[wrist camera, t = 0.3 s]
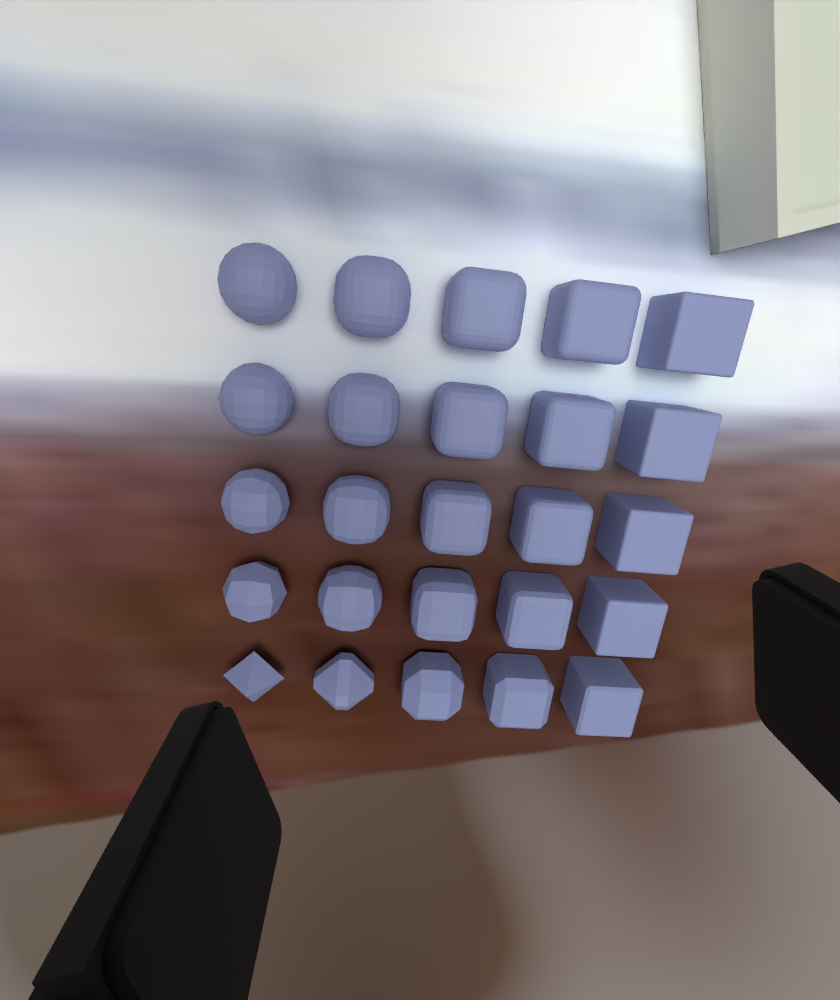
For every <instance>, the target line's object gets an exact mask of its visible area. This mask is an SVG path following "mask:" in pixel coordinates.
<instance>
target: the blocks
mask: <svg viewBox="0 0 840 1000" xmlns="http://www.w3.org/2000/svg"><path fill="white" fill-rule="evenodd" d="M218 284H219V290H220V294H221V296H222V298H223V300H224V302H225V304H226V305H227V306H228V307H229V308H230V309H231V311H232V312H233V313H235V314H236V315H237V316H239V317H240V318H242V319H243V320H245V321H247V322H251V323H254V324H258V325H259V324H271V323H273V322H276V321H278V320H281V319H282V318H283V317H284V316H285V315H286V314H287V313H288V312H289V311H290V309H291V308H292V306H293V304H294V302H295V298H296V293H297V284H296V276H295V274H294V271H293V269H292V267H291V264H290V263H289V262H288V261H287V259H286V258H285V257H284V256H283V254H282V253H280V252H279V251H277V250H276V249H274V248H273V247H271V246H268V245H265V244H261V243H245V244H241V245H239V246H237V247H235V248H233V249H231V250H230V251H229V252H228V253H227V254H226V255H225V257H224V259H223V261H222V262H221V264H220V267H219V274H218ZM410 297H411V289H410V282H409V279H408V276H407V274H406V272H405V271H404V270H403V268H402V267H401V266H400V265H399V264H397V263H396V262H394V261H393V260H390V259H387V258H384V257H376V256H368V255H367V256H357V257H354V258H352V259H349V260H348V261H347V262H346V263H345V264H344V265H343V266H342V267H341V268H340V270H339V272H338V274H337V277H336V282H335V291H334V307H335V313H336V315H337V318H338V320H339V322H340V323H341V324H342V325H343V326H344V328H345V329H347V330H348V331H350V332H351V333H353V334H356V335H360V336H365V337H374V338H384V337H388V336H391V335H393V334H395V333H396V332H398V331H399V330H400V329H401V328H402V327H403V325H404V324H405V322H406V320H407V317H408V313H409V308H410ZM525 299H526V285H525V282H524V280H523V279H522V277H520V276H519V275H518V274H516V273H513V272H508V271H500V270H492V269H484V268H476V267H466V268H463V269H461V270H460V271H458V272H457V273H456V274H455V275H454V276H453V277H452V278H451V279H450V281H449V282H448V285H447V289H446V297H445V306H444V315H443V324H442V333H443V335H444V338H445V339H446V341H447V342H448V343H450V344H451V345H453V346H457V347H462V348H471V349H480V350H489V351H498V352H499V351H506V350H509V349H510V348H512V347H513V346H514V345H515V344H516V342H517V341H518V339H519V336H520V331H521V325H522V318H523V312H524V306H525ZM640 301H641V293H640V291H639V289H638V288H636V287H634V286H628V285H620V284H612V283H604V282H596V281H588V280H580V279H579V280H573V281H570V282H566V283H563V284H560V285H557V286H555V287H554V288H553V289H552V290H551V292H550V296H549V302H548V308H547V314H546V320H545V325H544V331H543V337H542V343H541V350H542V352H543V354H544V355H546V356H548V357H554V358H561V359H569V360H578V361H587V362H596V363H605V364H614V365H616V364H621V363H623V362H624V361H625V360H626V359H627V357H628V355H629V351H630V346H631V341H632V337H633V332H634V328H635V323H636V319H637V314H638V310H639V305H640ZM753 307H754V301H753V300H747V299H739V298H731V297H723V296H715V295H708V294H700V293H692V292H681V293H674V294H667V295H660V296H653V297H652V298H651V299H650V303H649V308H648V312H647V316H646V321H645V325H644V330H643V334H642V339H641V343H640V347H639V352H638V356H637V361H636V366H637V367H644V368H651V369H659V370H667V371H676V372H685V373H694V374H703V375H712V376H721V377H733V376H734V373H735V370H736V366H737V363H738V359H739V356H740V352H741V349H742V345H743V342H744V338H745V335H746V331H747V328H748V324H749V321H750V317H751V314H752V310H753ZM219 400H220V404H221V408H222V412H223V414H224V415H225V417H226V418H227V420H228V421H229V423H231V424H232V425H233V426H235V427H236V428H237V429H238V430H241V431H244V432H247V433H250V434H255V435H258V434H268V433H272V432H274V431H275V430H277V429H279V428H281V427H282V426H283V425H284V424H285V422H286V421H287V420H288V418H289V417H290V415H291V411H292V407H293V398H292V392H291V388H290V386H289V384H288V383H287V381H286V379H285V378H284V376H282V375H281V374H280V373H279V372H277V371H276V370H275V369H274V368H272V367H270V366H267V365H263V364H260V363H250V364H243V365H241V366H239V367H237V368H236V369H234V370H232V371H231V372H230V373H229V375H228V376H227V378H226V379H225V380H224V382H223V383H222V387H221V391H220V396H219ZM507 412H508V402H507V400H506V397H505V395H503V394H502V393H501V392H500V391H498V390H496V389H494V388H492V387H489V386H486V385H477V384H467V383H458V382H448V383H445V384H443V385H441V386H440V387H439V388H438V389H437V391H436V393H435V396H434V403H433V411H432V420H431V429H430V433H431V439H432V441H433V443H434V445H435V447H436V449H437V450H438V451H439V452H440V453H441V454H443V455H447V456H453V457H464V458H475V459H491V458H493V457H495V456H496V455H497V454H498V453H499V452H500V450H501V447H502V444H503V438H504V431H505V425H506V419H507ZM399 413H400V402H399V395H398V393H397V391H396V389H395V387H394V385H393V384H392V383H391V382H389V381H388V380H387V379H386V378H384V377H381V376H378V375H374V374H365V373H355V374H348V375H347V376H345V377H343V378H341V379H339V380H338V382H337V383H336V384H335V386H334V387H333V388H332V389H331V393H330V397H329V404H328V419H329V425H330V427H331V429H332V431H333V432H334V434H335V436H336V437H338V438H339V439H340V440H341V441H343V442H346V443H349V444H352V445H357V446H377V445H381V444H383V443H384V442H386V441H388V440H389V439H390V438H391V437H392V436H393V434H394V433H395V432H396V429H397V425H398V422H399ZM615 414H616V409H615V407H614V406H613V405H612V404H611V403H610V402H607V401H604V400H600V399H597V398H594V397H591V396H586V395H576V394H567V393H557V392H548V391H539V392H537V393H536V394H535V395H534V396H533V398H532V402H531V408H530V414H529V420H528V426H527V431H526V437H525V443H524V449H525V451H526V453H528V454H529V455H530V456H531V457H532V458H533V459H535V460H536V461H537V462H538V463H539V464H541V465H542V466H546V467H557V468H568V469H579V470H589V471H596V470H599V469H601V468H602V467H603V465H604V463H605V459H606V455H607V450H608V446H609V441H610V437H611V432H612V428H613V423H614V419H615ZM721 419H722V415H721V414H718V413H714V412H709V411H705V410H701V409H697V408H693V407H688V406H682V405H673V404H663V403H654V402H644V401H635V400H629V401H628V402H627V405H626V409H625V414H624V418H623V423H622V427H621V432H620V436H619V440H618V445H617V449H616V454H615V458H614V462H615V463H617V464H619V465H621V466H622V467H624V468H626V469H628V470H630V471H631V472H633V473H635V474H637V475H638V476H641V477H650V478H661V479H672V480H683V481H694V482H703V481H704V479H705V475H706V472H707V468H708V465H709V461H710V458H711V454H712V451H713V447H714V444H715V440H716V437H717V433H718V430H719V426H720V423H721ZM221 505H222V509H223V512H224V515H225V518H226V520H227V521H228V522H229V523H230V524H231V525H232V526H233V527H234V528H236V529H238V530H241V531H244V532H247V533H250V534H254V533H260V532H265V531H269V530H272V529H273V528H274V527H276V526H277V525H278V524H279V523H281V522H282V521H283V520H284V519H285V517H286V514H287V511H288V508H289V505H290V501H289V497H288V493H287V489H286V486H285V483H284V482H283V481H282V480H281V479H280V478H279V477H278V476H277V475H276V474H274V473H271V472H269V471H266V470H263V469H259V468H256V469H249V470H243V471H239V472H237V473H236V474H235V475H234V476H233V477H232V478H230V479H229V480H228V481H227V482H226V484H225V488H224V491H223V495H222V498H221ZM390 508H391V506H390V498H389V493H388V490H387V489H386V488H385V487H384V485H383V484H382V483H381V482H380V481H379V480H376V479H373V478H370V477H368V476H360V475H350V476H344V477H339V478H338V479H337V480H335V481H334V482H333V483H332V484H331V485H329V487H328V490H327V493H326V496H325V499H324V501H323V519H324V523H325V527H326V529H327V532H328V533H329V534H330V535H331V536H332V537H333V538H334V539H336V540H339V541H342V542H345V543H349V544H365V543H370V542H374V541H375V540H377V539H378V538H379V537H381V536H382V535H383V533H384V532H385V530H386V527H387V525H388V522H389V518H390ZM491 512H492V507H491V501H490V499H489V498H488V496H487V494H486V493H485V491H484V490H483V489H482V488H481V486H480V485H477V484H474V483H469V482H457V481H446V480H437V481H432V482H431V483H429V484H428V485H427V486H426V488H425V490H424V493H423V499H422V508H421V517H420V529H421V535H422V540H423V544H424V545H425V546H426V547H427V548H428V549H429V550H430V551H432V552H435V553H440V554H454V555H467V556H471V555H477V554H479V553H480V552H482V551H483V549H484V547H485V545H486V543H487V537H488V531H489V524H490V518H491ZM592 518H593V509H592V508H591V506H590V505H589V504H588V503H587V502H585V501H584V500H583V499H582V498H581V497H579V496H578V495H577V494H576V493H575V492H574V491H571V490H567V489H556V488H544V487H533V486H523V487H520V488H519V489H518V490H517V493H516V497H515V503H514V508H513V514H512V520H511V526H510V532H509V538H510V540H511V542H512V544H513V545H514V547H515V549H516V550H517V552H518V554H519V555H520V557H521V558H522V559H523V560H524V561H527V562H532V563H546V564H559V565H573V566H574V565H579V564H580V563H581V562H582V560H583V559H584V554H585V550H586V545H587V541H588V536H589V532H590V527H591V523H592ZM692 521H693V515H692V514H690V513H688V512H687V511H685V510H683V509H682V508H680V507H678V506H677V505H675V504H673V503H671V502H670V501H668V500H666V499H665V498H663V497H653V496H642V495H631V494H619V493H607V494H606V498H605V502H604V507H603V511H602V516H601V520H600V524H599V529H598V533H597V538H596V542H595V549H596V550H597V551H598V552H599V553H600V554H601V555H602V556H603V557H604V558H605V559H606V560H607V561H608V562H609V563H610V564H611V565H612V566H613V567H614V568H615V569H616V570H617V571H625V572H639V573H653V574H666V575H677V573H678V571H679V567H680V564H681V560H682V557H683V553H684V550H685V546H686V543H687V539H688V536H689V532H690V529H691V525H692ZM223 594H224V598H225V601H226V604H227V607H228V609H229V612H230V614H231V616H234V617H236V618H239V619H241V620H244V621H246V622H253V621H258V620H262V619H266V618H270V617H271V616H272V615H274V614H275V613H277V612H278V610H279V608H280V606H281V604H282V602H283V600H284V598H285V596H286V594H287V591H286V589H285V586H284V583H283V581H282V578H281V575H280V573H279V570H278V568H277V567H275V566H272V565H269V564H267V563H264V562H262V561H258V562H253V563H249V564H244V565H240V566H238V567H235V568H233V569H232V570H231V572H230V574H229V576H228V578H227V580H226V582H225V584H224V586H223ZM477 601H478V598H477V595H476V591H475V588H474V585H473V582H472V579H471V577H470V574H468V573H467V572H464V571H462V570H459V569H447V568H433V567H428V568H423V569H420V570H419V571H418V573H417V575H416V577H415V578H414V580H413V587H412V596H411V604H410V611H411V622H412V626H413V629H414V632H415V634H416V635H417V636H418V637H421V638H423V639H426V640H438V641H455V642H459V641H462V640H466V639H467V638H468V637H469V635H470V633H471V631H472V629H473V626H474V620H475V613H476V607H477ZM381 603H382V589H381V586H380V583H379V580H378V578H377V575H376V573H375V572H374V571H372V570H370V569H367V568H364V567H362V566H357V565H344V566H340V567H335V568H332V569H331V570H329V571H328V573H327V575H326V576H325V578H324V580H323V582H322V584H321V586H320V589H319V592H318V605H319V608H320V610H321V613H322V616H323V618H324V621H325V623H326V625H327V626H330V627H332V628H335V629H338V630H340V631H358V630H362V629H366V628H369V627H370V625H371V624H372V623H373V621H374V619H375V617H376V616H377V614H378V612H379V610H380V609H381ZM572 606H573V601H572V597H571V595H570V594H569V592H568V591H567V590H566V588H565V587H564V585H563V584H562V582H561V581H560V580H559V578H558V577H557V576H555V575H553V574H547V573H534V572H520V571H508V572H505V573H504V575H503V577H502V579H501V585H500V591H499V597H498V602H497V608H496V614H495V615H496V619H497V622H498V624H499V627H500V630H501V632H502V635H503V637H504V640H505V643H506V644H507V645H508V646H511V647H514V648H530V649H547V650H558V649H561V648H562V647H563V645H564V642H565V638H566V633H567V629H568V624H569V620H570V615H571V611H572ZM667 609H668V605H667V604H666V603H665V602H664V601H663V600H662V599H661V598H660V597H659V596H658V595H657V594H656V593H655V592H654V591H653V590H652V589H651V588H650V587H649V586H648V585H647V584H646V583H645V582H644V581H643V580H641V579H627V578H614V577H600V576H589V577H588V578H587V582H586V586H585V591H584V595H583V600H582V604H581V608H580V613H579V617H578V622H577V626H578V628H579V629H580V631H581V632H582V634H583V635H584V637H585V638H586V640H587V641H588V643H589V644H590V646H591V647H592V649H593V651H594V652H595V654H597V655H605V656H622V657H640V658H653V657H654V655H655V652H656V648H657V645H658V641H659V638H660V634H661V631H662V627H663V624H664V620H665V616H666V613H667ZM223 676H224V677H225V678H227V679H228V680H229V681H230V682H231V683H232V684H233V685H234V686H235V687H236V688H237V689H238V690H239V691H240V692H241V693H242V694H243V695H245V696H246V697H247V698H249V699H250V700H252V701H253V702H254V701H255V700H257V699H258V698H259V697H261V696H262V695H263V694H264V693H266V692H267V691H268V690H270V689H271V688H272V687H274V686H275V685H276V684H278V683H279V682H280V681H282V680H283V679H284V678H283V677H282V676H281V675H280V674H279V673H278V672H277V671H276V670H274V669H273V668H272V667H271V666H270V665H269V664H268V663H267V662H266V661H265V660H263V659H262V658H261V657H260V656H259V655H258V654H257V653H256V652H255V651H254V652H252V653H251V654H250V655H249V656H247V657H246V658H245V659H244V660H242V661H241V662H240V663H238V664H237V665H236V666H235V667H233V668H232V669H231V670H229V671H228V672H227V673H226V674H224V675H223ZM373 687H374V674H373V673H372V672H371V671H370V670H369V669H368V668H367V667H366V666H365V665H364V664H363V663H362V662H361V661H360V660H359V659H358V658H357V657H356V656H355V655H354V654H353V653H343V652H340V653H339V654H338V655H336V656H335V657H334V658H332V659H331V660H330V661H328V662H327V663H326V664H324V665H323V666H322V667H320V668H319V669H318V670H316V671H315V676H314V686H313V689H314V690H315V691H316V692H317V693H318V694H320V695H321V696H322V697H323V698H324V699H325V700H326V701H327V702H328V703H329V704H330V705H332V706H333V707H334V708H335V709H336V710H349V709H350V708H351V707H353V706H354V705H356V704H357V703H358V702H360V701H361V700H362V699H364V698H365V697H367V696H368V695H369V694H371V693H372V692H373ZM463 689H464V681H463V677H462V672H461V668H460V665H459V664H458V663H457V662H456V661H455V660H454V659H453V658H452V657H451V656H450V655H449V654H448V653H435V652H418V653H417V654H416V655H414V656H413V657H411V658H410V659H409V660H407V661H406V662H405V663H404V666H403V675H402V683H401V698H402V707H403V708H404V709H405V710H406V711H407V712H408V713H409V714H410V715H411V716H412V717H413V718H414V719H418V720H441V721H444V720H447V719H448V718H450V717H451V716H452V715H453V714H455V713H456V712H457V711H459V710H460V708H461V702H462V696H463ZM553 691H554V687H553V684H552V682H551V680H550V678H549V676H548V674H547V672H546V670H545V668H544V665H543V663H542V662H541V661H540V660H539V658H538V657H537V656H536V655H528V654H511V653H496V654H495V655H493V656H492V657H491V658H489V659H488V661H487V667H486V673H485V678H484V684H483V690H482V694H483V697H484V701H485V705H486V709H487V712H488V716H489V720H490V721H491V722H492V723H493V724H494V725H495V726H496V727H505V728H528V729H539V728H541V727H542V726H543V725H544V724H545V723H546V722H547V718H548V713H549V709H550V704H551V700H552V695H553ZM643 692H644V691H643V690H642V688H641V687H640V685H639V684H638V683H637V681H636V680H635V678H634V677H633V676H632V674H631V673H630V672H629V670H628V669H627V667H626V666H625V665H624V663H623V662H622V660H621V659H617V658H600V657H583V656H572V657H570V658H569V662H568V666H567V670H566V675H565V679H564V684H563V688H562V693H561V697H560V701H561V703H562V705H563V707H564V709H565V711H566V713H567V715H568V717H569V720H570V722H571V724H572V726H573V728H574V730H575V732H576V733H577V735H592V736H616V737H630V736H631V734H632V731H633V727H634V724H635V720H636V717H637V713H638V710H639V706H640V703H641V699H642V696H643Z"/></svg>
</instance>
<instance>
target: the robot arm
mask: <svg viewBox="0 0 840 1000" xmlns="http://www.w3.org/2000/svg"><path fill="white" fill-rule="evenodd" d="M752 601H753V636H754V670H755V703H756V709H757V712H758V714H759V717H760V719H761V720H762V722H763V723H764V725H765V726H766V727H767V728H768V729H769V730H770V731H771V732H772V733H773V734H774V736H775V737H776V738H777V739H778V740H779V741H780V742H781V743H782V744H783V745H784V746H785V747H786V748H787V749H788V750H789V751H790V752H791V753H792V754H793V755H794V756H795V757H796V758H797V759H798V760H799V761H800V762H801V763H802V764H803V765H804V767H805V768H806V769H807V770H808V771H809V772H810V773H811V774H812V775H813V776H814V777H815V778H816V779H817V780H818V781H819V782H820V783H821V784H822V785H823V786H824V787H825V788H826V789H827V790H828V791H829V792H830V793H831V795H833V797H834V798H835V799H836V800H837V801H838V802H839V803H840V583H839V582H837V581H835V580H833V579H832V578H830V577H828V576H826V575H824V574H822V573H821V572H819V571H817V570H815V569H813V568H811V567H810V566H808V565H806V564H803V563H792V564H788V565H784V566H780V567H776V568H771V569H767V570H765V571H763V572H762V573H761V575H760V577H759V580H758V581H756V582H754V584H753V587H752ZM280 842H281V822H280V818H279V815H278V812H277V810H276V808H275V805H274V803H273V801H272V798H271V796H270V794H269V792H268V789H267V787H266V785H265V782H264V780H263V778H262V775H261V773H260V771H259V768H258V766H257V764H256V761H255V759H254V757H253V754H252V752H251V750H250V747H249V745H248V743H247V740H246V738H245V736H244V733H243V731H242V729H241V726H240V724H239V722H238V720H237V717H236V715H235V713H234V711H233V709H232V708H230V707H225V708H224V707H223V705H222V704H221V703H220V702H218V701H213V702H209V703H205V704H201V705H196V706H192V707H188V708H185V709H183V710H182V711H181V712H180V714H179V715H178V717H177V719H176V721H175V722H174V724H173V726H172V728H171V730H170V732H169V733H168V735H167V737H166V739H165V741H164V743H163V744H162V746H161V748H160V750H159V752H158V753H157V755H156V757H155V759H154V761H153V763H152V764H151V766H150V768H149V770H148V772H147V774H146V775H145V777H144V779H143V781H142V783H141V785H140V786H139V788H138V790H137V792H136V794H135V796H134V797H133V799H132V801H131V803H130V805H129V806H128V808H127V810H126V812H125V814H124V816H123V817H122V819H121V821H120V823H119V825H118V827H117V828H116V830H115V832H114V834H113V836H112V838H111V839H110V841H109V843H108V845H107V847H106V849H105V850H104V852H103V854H102V856H101V858H100V860H99V861H98V863H97V865H96V867H95V869H94V870H93V872H92V874H91V876H90V878H89V880H88V881H87V883H86V885H85V887H84V889H83V891H82V892H81V894H80V896H79V898H78V900H77V902H76V904H75V905H74V907H73V909H72V911H71V912H70V914H69V916H68V918H67V920H66V922H65V923H64V926H63V927H62V929H61V931H60V933H59V934H58V936H57V938H56V940H55V942H54V944H53V945H52V947H51V949H50V951H49V953H48V954H47V956H46V958H45V960H44V962H43V964H42V966H41V967H40V969H39V971H38V973H37V975H36V976H35V979H34V980H33V982H32V984H33V985H34V987H35V988H34V990H33V992H32V994H31V996H30V997H29V999H28V1000H248V995H249V990H250V985H251V980H252V976H253V971H254V966H255V961H256V957H257V952H258V947H259V942H260V938H261V933H262V928H263V923H264V918H265V914H266V909H267V904H268V899H269V894H270V889H271V885H272V880H273V875H274V870H275V866H276V861H277V856H278V852H279V846H280Z"/></svg>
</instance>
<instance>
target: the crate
mask: <svg viewBox="0 0 840 1000" xmlns="http://www.w3.org/2000/svg"><path fill="white" fill-rule="evenodd" d="M697 8H698V27H699V45H700V63H701V81H702V99H703V117H704V135H705V153H706V171H707V189H708V207H709V225H710V243H711V255H712V254H716V253H720V252H724V251H728V250H732V249H736V248H740V247H744V246H748V245H753V244H757V243H761V242H765V241H769V240H773V239H777V238H781V237H785V236H788V235H792V234H796V233H800V232H804V231H808V230H812V229H816V228H820V227H824V226H827V225H831V224H835V223H839V222H840V0H697Z"/></svg>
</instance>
